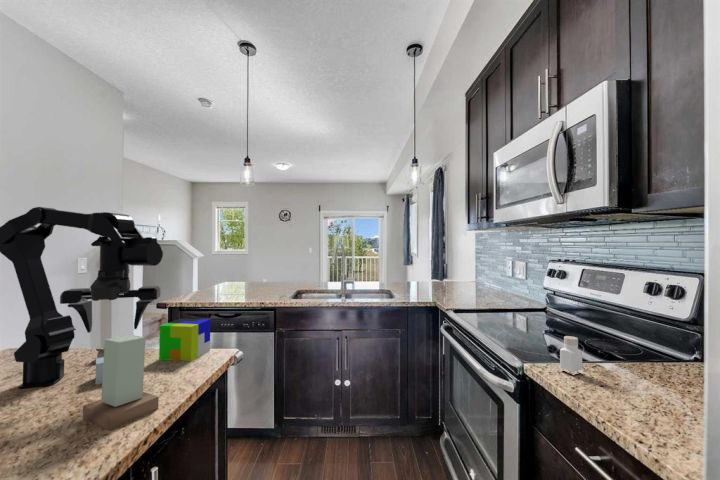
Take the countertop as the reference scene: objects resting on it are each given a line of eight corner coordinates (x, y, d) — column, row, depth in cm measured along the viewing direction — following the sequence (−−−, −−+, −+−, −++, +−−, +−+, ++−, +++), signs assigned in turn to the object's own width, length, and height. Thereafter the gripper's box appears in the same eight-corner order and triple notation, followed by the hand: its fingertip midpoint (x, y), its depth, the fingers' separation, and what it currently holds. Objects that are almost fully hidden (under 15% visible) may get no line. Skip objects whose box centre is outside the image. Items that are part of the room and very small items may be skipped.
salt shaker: (573, 376, 88) (573, 340, 89) (559, 371, 92) (559, 336, 92) (583, 374, 90) (583, 338, 90) (568, 369, 94) (568, 335, 94)
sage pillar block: (101, 401, 66) (104, 339, 67) (128, 393, 70) (131, 334, 71) (115, 406, 64) (118, 342, 65) (142, 397, 68) (145, 337, 69)
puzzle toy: (209, 350, 108) (210, 319, 108) (191, 361, 98) (191, 326, 98) (180, 349, 109) (181, 318, 109) (159, 359, 99) (159, 325, 99)
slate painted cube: (95, 384, 81) (96, 363, 81) (95, 378, 85) (96, 358, 85) (121, 380, 84) (121, 359, 84) (119, 374, 88) (120, 354, 88)
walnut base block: (82, 421, 65) (82, 406, 65) (131, 402, 73) (131, 388, 73) (110, 433, 61) (110, 416, 61) (158, 411, 69) (158, 396, 69)
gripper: (49, 267, 70) (47, 343, 70) (153, 266, 77) (151, 335, 77) (71, 265, 80) (69, 330, 80) (161, 264, 87) (160, 324, 87)
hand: (113, 330), depth 81 cm, fingers open, 9 cm apart
